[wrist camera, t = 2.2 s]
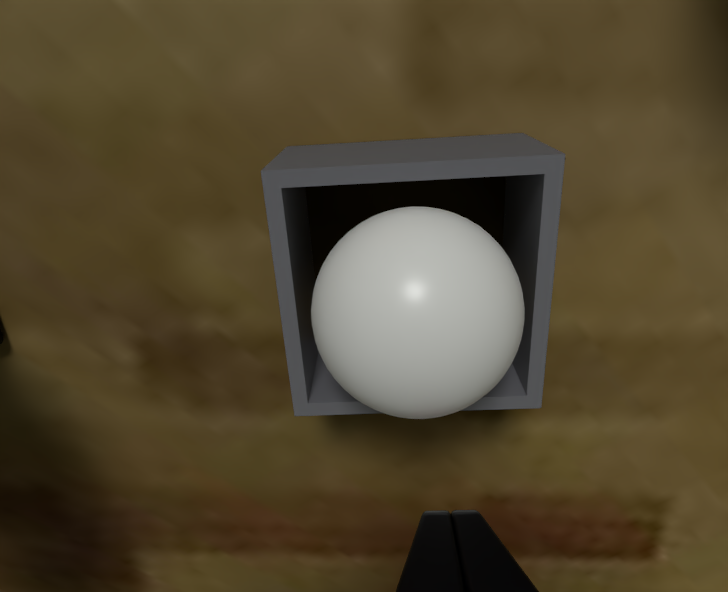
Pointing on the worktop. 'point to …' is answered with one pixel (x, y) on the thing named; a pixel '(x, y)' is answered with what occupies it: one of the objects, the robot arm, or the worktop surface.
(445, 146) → the grey open box
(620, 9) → the worktop surface
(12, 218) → the worktop surface
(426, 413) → the white ball
